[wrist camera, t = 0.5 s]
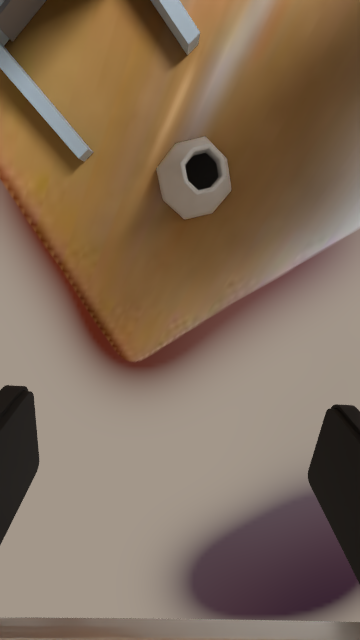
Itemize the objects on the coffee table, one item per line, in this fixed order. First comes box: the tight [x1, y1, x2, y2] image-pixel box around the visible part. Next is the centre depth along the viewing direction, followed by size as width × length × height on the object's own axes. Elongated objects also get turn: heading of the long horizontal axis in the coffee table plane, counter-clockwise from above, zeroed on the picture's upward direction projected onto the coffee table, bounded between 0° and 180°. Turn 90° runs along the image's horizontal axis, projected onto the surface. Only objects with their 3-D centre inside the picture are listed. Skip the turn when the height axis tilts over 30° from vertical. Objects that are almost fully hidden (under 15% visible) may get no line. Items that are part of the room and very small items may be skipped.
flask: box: [156, 136, 232, 220], centre depth 26 cm, size 7×7×10 cm
